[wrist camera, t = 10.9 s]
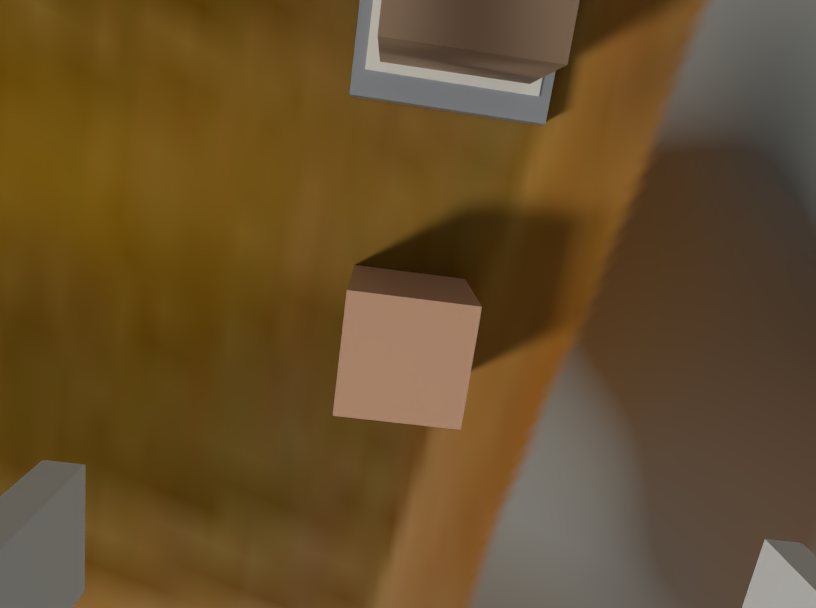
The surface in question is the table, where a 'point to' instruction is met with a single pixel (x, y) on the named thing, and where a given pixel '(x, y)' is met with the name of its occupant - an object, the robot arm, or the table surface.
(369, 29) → the slate picture frame
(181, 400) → the table surface
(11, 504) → the robot arm
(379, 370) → the terracotta cube
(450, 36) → the walnut block
